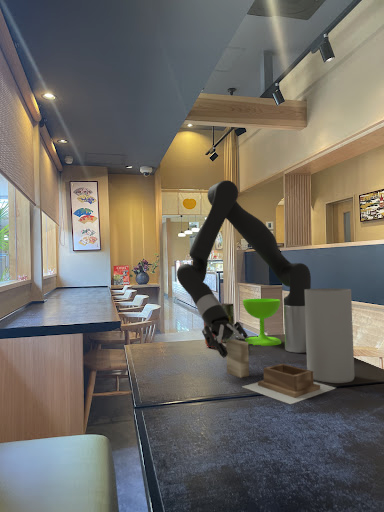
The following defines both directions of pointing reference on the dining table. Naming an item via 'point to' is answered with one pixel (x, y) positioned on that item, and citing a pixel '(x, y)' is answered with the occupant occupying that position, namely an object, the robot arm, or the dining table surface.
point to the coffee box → (229, 315)
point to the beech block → (237, 358)
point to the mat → (285, 397)
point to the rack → (288, 380)
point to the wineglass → (262, 319)
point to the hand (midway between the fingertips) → (236, 353)
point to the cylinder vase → (329, 334)
